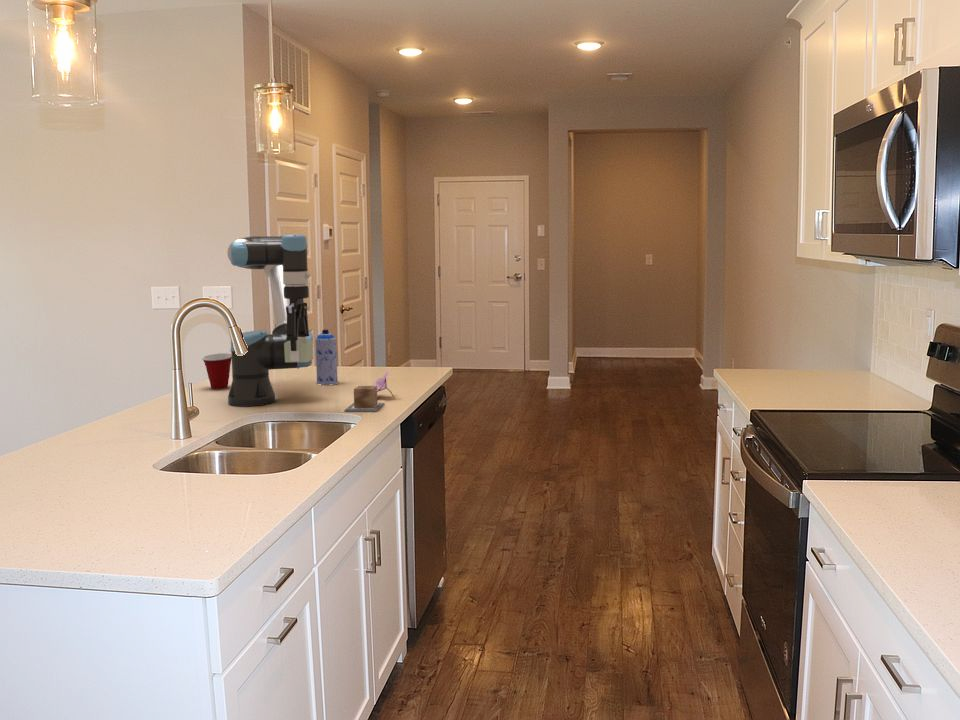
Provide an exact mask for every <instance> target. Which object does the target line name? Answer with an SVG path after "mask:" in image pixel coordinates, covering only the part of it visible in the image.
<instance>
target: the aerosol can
mask: <svg viewBox="0 0 960 720" xmlns="http://www.w3.org/2000/svg"><path fill="white" fill-rule="evenodd" d="M321 331H322V332H321V333H320V334H318V335H317V337H315V341H314V342H315V362H316V363H315V366H316V385H317V384H321V385H320V386H331V385H330V384H335V385H337V384H336V383H338V384H339V381H338V357H337V353H338V352H337V339H336V337H335V336H334V334H332V333H331V332H329V329H327V328H326V329H322V330H321Z"/></svg>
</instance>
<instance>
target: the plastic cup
mask: <svg viewBox="0 0 960 720" xmlns="http://www.w3.org/2000/svg"><path fill="white" fill-rule="evenodd" d="M201 359H202V361H203V362H204V366H205V369H206V372H207V373H206V374H207V376H208V377H207V378H208V380H209V384H210V385H209V386H210V388H211V389H212V390H223V389H227V388H228V387H229V379H230V372H231V371H230V370H231V365H232V356H231V353H228V352H224V353H222V352H220V353H219V352H218V353H212V354H207V355H203V356H202V357H201Z"/></svg>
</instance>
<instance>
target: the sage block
mask: <svg viewBox="0 0 960 720" xmlns="http://www.w3.org/2000/svg"><path fill="white" fill-rule="evenodd" d="M313 347H314V340H313V341H312V340H299V356H300V361H290V341H288V342H285V343H284V351H285V362H309V361H311V360H312V361H313V360H314V348H313Z"/></svg>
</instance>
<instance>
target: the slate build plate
mask: <svg viewBox="0 0 960 720" xmlns="http://www.w3.org/2000/svg"><path fill="white" fill-rule="evenodd" d="M383 405H384V406H385V402H377V405H376V406H375V407H374V408H354V402H353V403H352V404H350V405H349V406H347V407H346V408H345V409H344V412H345V411H346V412H345V413H377V412H378V411H379V410H381V409H382V408H383V407H384V406H383ZM377 410H378V411H377ZM376 411H377V412H376Z"/></svg>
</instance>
